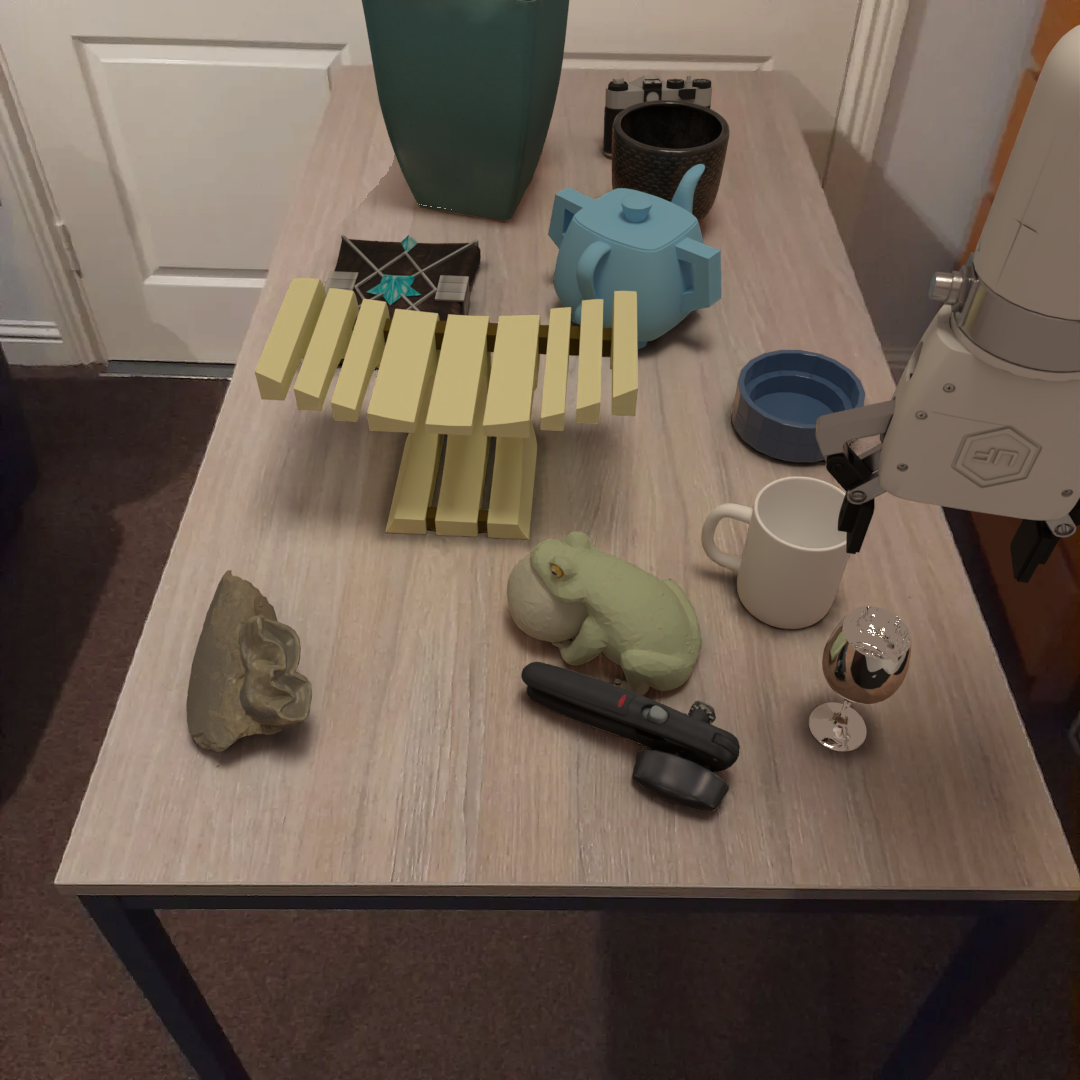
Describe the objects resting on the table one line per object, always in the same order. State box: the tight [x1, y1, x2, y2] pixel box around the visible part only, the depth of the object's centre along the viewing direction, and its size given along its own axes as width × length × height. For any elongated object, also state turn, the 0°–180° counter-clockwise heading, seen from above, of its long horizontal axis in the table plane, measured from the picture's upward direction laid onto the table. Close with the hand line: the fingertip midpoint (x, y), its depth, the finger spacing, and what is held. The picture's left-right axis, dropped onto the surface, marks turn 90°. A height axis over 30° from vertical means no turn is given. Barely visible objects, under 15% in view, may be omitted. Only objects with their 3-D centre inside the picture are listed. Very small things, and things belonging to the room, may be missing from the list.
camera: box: [602, 74, 713, 157], centre depth 140 cm, size 15×11×10 cm
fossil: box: [185, 569, 313, 753], centre depth 76 cm, size 14×10×10 cm
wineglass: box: [807, 605, 912, 753], centre depth 73 cm, size 6×6×12 cm
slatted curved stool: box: [254, 277, 639, 540], centre depth 90 cm, size 30×16×18 cm, turn 87°
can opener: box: [520, 661, 741, 812], centre depth 75 cm, size 18×7×6 cm, turn 58°
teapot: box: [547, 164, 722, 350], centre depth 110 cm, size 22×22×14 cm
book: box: [324, 234, 482, 364], centre depth 113 cm, size 22×17×5 cm
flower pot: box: [361, 0, 570, 222], centre depth 123 cm, size 20×20×28 cm
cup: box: [700, 475, 851, 630], centre depth 83 cm, size 8×12×10 cm
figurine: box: [506, 530, 702, 696], centre depth 79 cm, size 10×16×10 cm, turn 66°
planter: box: [611, 100, 731, 224], centre depth 124 cm, size 14×14×13 cm
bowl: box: [730, 349, 866, 463], centre depth 100 cm, size 12×12×5 cm
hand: (933, 550), depth 60 cm, fingers open, 9 cm apart
